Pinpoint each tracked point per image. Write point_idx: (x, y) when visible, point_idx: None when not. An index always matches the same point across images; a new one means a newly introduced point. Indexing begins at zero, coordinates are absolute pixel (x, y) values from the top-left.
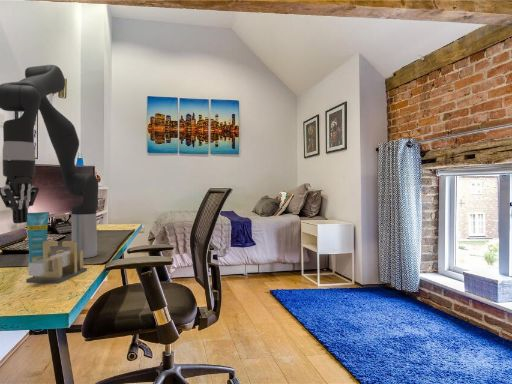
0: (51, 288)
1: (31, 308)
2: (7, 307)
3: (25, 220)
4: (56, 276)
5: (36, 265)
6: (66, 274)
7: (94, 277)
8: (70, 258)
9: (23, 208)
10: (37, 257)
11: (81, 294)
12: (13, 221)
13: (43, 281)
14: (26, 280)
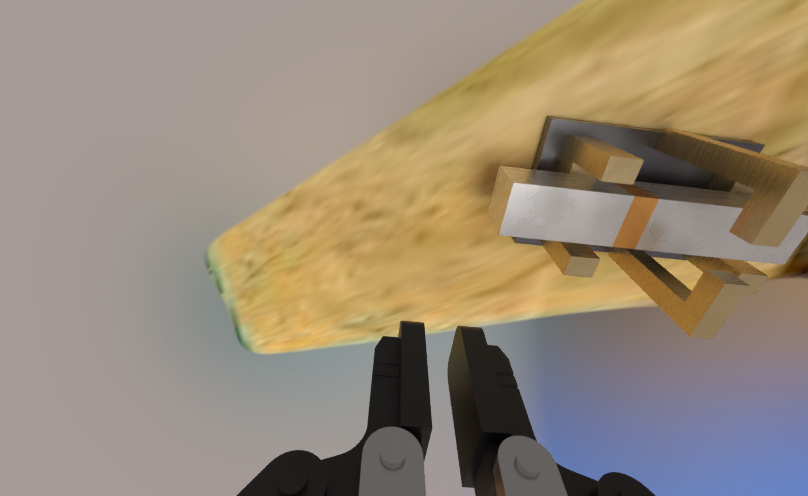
0: (450, 242)
1: (265, 278)
2: (262, 217)
3: (449, 384)
4: None
5: (501, 215)
6: None
7: (568, 309)
8: (648, 271)
9: (476, 481)
10: (627, 170)
11: None
12: (402, 326)
13: None
14: (550, 117)
